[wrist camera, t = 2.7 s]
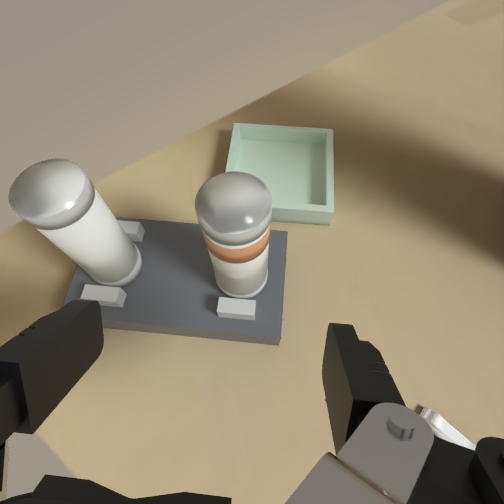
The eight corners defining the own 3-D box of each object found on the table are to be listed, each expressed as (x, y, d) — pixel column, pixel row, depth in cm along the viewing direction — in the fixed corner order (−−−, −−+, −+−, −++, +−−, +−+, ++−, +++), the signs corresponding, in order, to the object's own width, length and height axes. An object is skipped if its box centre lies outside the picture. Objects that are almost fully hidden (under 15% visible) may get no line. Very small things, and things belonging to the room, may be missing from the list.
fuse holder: (285, 246, 27) (288, 222, 24) (278, 345, 24) (281, 333, 20) (108, 232, 28) (88, 206, 25) (76, 324, 24) (48, 309, 21)
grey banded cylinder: (269, 255, 24) (275, 173, 16) (265, 303, 22) (269, 238, 14) (220, 251, 24) (202, 168, 16) (212, 298, 23) (188, 231, 15)
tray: (329, 145, 32) (333, 128, 30) (329, 225, 28) (334, 212, 26) (235, 138, 33) (234, 122, 31) (222, 216, 29) (219, 203, 27)
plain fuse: (148, 245, 25) (95, 161, 17) (136, 290, 23) (70, 221, 15) (101, 241, 25) (27, 156, 17) (86, 286, 23) (-5, 215, 15)
